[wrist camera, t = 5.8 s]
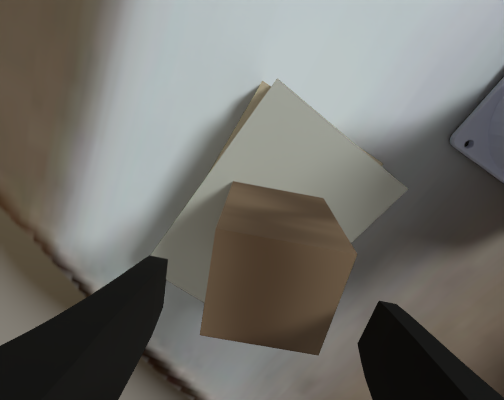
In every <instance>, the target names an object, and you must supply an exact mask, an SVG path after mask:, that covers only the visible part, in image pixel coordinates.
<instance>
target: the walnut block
mask: <svg viewBox="0 0 504 400" xmlns="http://www.w3.org/2000/svg"><path fill="white" fill-rule="evenodd" d="M356 257H357V253H356V251H355V249H354V248H353V246H352V244H351V243H350V241H349V240H348V238H347V236H346V235H345V233H344V231H343V230H342V228H341V226H340V225H339V223H338V221H337V220H336V218H335V216H334V215H333V213H332V211H331V210H330V208H329V206H328V205H327V203H326V201H325V200H324V198H320V197H315V196H309V195H304V194H299V193H293V192H288V191H283V190H277V189H272V188H267V187H262V186H256V185H251V184H246V183H240V182H235V181H233V183H232V185H231V188H230V191H229V193H228V196H227V199H226V202H225V204H224V207H223V210H222V212H221V215H220V218H219V221H218V223H217V226H216V229H215V236H214V243H213V249H212V256H211V263H210V270H209V276H208V283H207V290H206V297H205V303H204V310H203V317H202V323H201V330H200V335H202V336H208V337H214V338H219V339H225V340H231V341H237V342H243V343H249V344H255V345H261V346H266V347H272V348H278V349H284V350H290V351H296V352H302V353H307V354H313V355H319V353H320V350H321V348H322V345H323V342H324V340H325V337H326V335H327V332H328V329H329V327H330V324H331V322H332V319H333V316H334V314H335V311H336V309H337V306H338V303H339V301H340V298H341V296H342V293H343V290H344V288H345V285H346V283H347V280H348V277H349V275H350V272H351V270H352V267H353V264H354V262H355V259H356Z"/></svg>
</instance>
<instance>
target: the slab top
mask: <svg viewBox="0 0 504 400" xmlns="http://www.w3.org/2000/svg"><path fill="white" fill-rule="evenodd" d="M233 181H235V182H240V183H246V184H251V185H256V186H262V187H267V188H272V189H277V190H283V191H288V192H293V193H299V194H304V195H309V196H315V197H320V198H324V200H325V201H326V203H327V205H328V206H329V208H330V210H331V211H332V213H333V215H334V216H335V218H336V220H337V221H338V223H339V225H340V226H341V228H342V230H343V231H344V233H345V235H346V236H347V238H348V240H349V241H350V243H352V242H353V241H354V240H355V239H356V238H357V237H358V236H359V235H360V234H362V233H363V232H364V231H365V230H366V229H367V228H368V227H369V226H370V225H371V224H372V223H373V222H374V221H375V220H376V219H377V218H378V217H379V216H380V215H382V214H383V213H384V212H385V211H386V210H387V209H388V208H389V207H390V206H391V205H392V204H393V203H394V202H395V201H396V200H397V199H398V198H399V197H401V196H402V195H403V194H404V193H405V192H406V191H407V190H408V188H406V187H405V186H404V185H403V184H402V183H401V182H399V181H398V180H397V179H396V178H395V177H393V176H392V175H391V174H390V173H389V172H388V171H386V170H385V169H384V168H383V167H382V166H380V165H379V164H378V163H377V162H376V161H375V160H373V159H372V158H371V157H370V156H369V155H367V154H366V153H365V152H364V151H363V150H361V149H360V148H359V147H358V146H357V145H356V144H354V143H353V142H352V141H351V140H350V139H348V138H347V137H346V136H345V135H344V134H343V133H341V132H340V131H339V130H338V129H337V128H335V127H334V126H333V125H332V124H331V123H330V122H328V121H327V120H326V119H325V118H324V117H322V116H321V115H320V114H319V113H318V112H317V111H315V110H314V109H313V108H312V107H311V106H309V105H308V104H307V103H306V102H305V101H304V100H302V99H301V98H300V97H299V96H298V95H296V94H295V93H294V92H293V91H292V90H290V89H289V88H288V87H287V86H286V85H285V84H283V83H282V82H281V81H280V80H279V79H276V81H275V82H274V84H273V85H272V86H271V88H270V89H269V91H268V92H267V93H266V95H265V96H264V98H263V99H262V100H261V102H260V103H259V105H258V106H257V107H256V109H255V110H254V111H253V113H252V114H251V116H250V117H249V118H248V120H247V121H246V123H245V124H244V125H243V127H242V128H241V130H240V131H239V132H238V134H237V135H236V137H235V138H234V139H233V141H232V142H231V144H230V145H229V146H228V148H227V149H226V150H225V152H224V153H223V155H222V156H221V157H220V159H219V160H218V162H217V163H216V164H215V166H214V167H213V169H212V170H211V171H210V173H209V174H208V176H207V177H206V178H205V180H204V181H203V183H202V184H201V185H200V187H199V188H198V189H197V191H196V192H195V194H194V195H193V196H192V198H191V199H190V201H189V202H188V203H187V205H186V206H185V208H184V209H183V210H182V212H181V213H180V215H179V216H178V217H177V219H176V220H175V222H174V223H173V224H172V226H171V227H170V229H169V230H168V231H167V233H166V234H165V235H164V237H163V238H162V240H161V241H160V242H159V244H158V245H157V247H156V248H155V249H154V251H153V252H152V254H151V255H150V256H155V257H160V258H165V259H168V265H167V275H166V280H167V281H169V282H170V283H172V284H174V285H175V286H177V287H179V288H180V289H182V290H184V291H185V292H187V293H189V294H190V295H192V296H194V297H195V298H197V299H199V300H200V301H202V302H204V303H205V297H206V290H207V283H208V276H209V270H210V263H211V256H212V249H213V243H214V236H215V229H216V226H217V223H218V221H219V218H220V215H221V212H222V210H223V207H224V204H225V202H226V199H227V196H228V193H229V191H230V188H231V185H232V183H233Z"/></svg>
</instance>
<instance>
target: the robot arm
mask: <svg viewBox="0 0 504 400" xmlns="http://www.w3.org/2000/svg"><path fill="white" fill-rule="evenodd" d="M468 140H469V144H468V146H466V147H464V144H465V142H466V141H468ZM450 144H451V145H452V146H453V147H454V148H456V149H457V150H458V151H460V152H461V153H463V154H464V155H465V156H467V157H468V158H469V159H471V160H472V161H474V162H475V163H476V164H478V165H479V166H480V167H482V168H483V169H485V170H486V171H487V172H489V173H490V174H491V175H493V176H494V177H496V178H497V179H498V180H500V181H501V182H502V183H504V77H503V78H502V79H501V80H500V82H499V83H498V84H497V85H496V86H495V87H494V88H493V89H492V91H491V92H490V93H489V94H488V95H487V96H486V97H485V98H484V100H483V101H482V102H481V103H480V104H479V105H478V106H477V107H476V109H475V110H474V111H473V112H472V113H471V114H470V115H469V116H468V117H467V119H466V120H465V121H464V122H463V123H462V124H461V125H460V126H459V128H458V129H457V130H456V131H455V132H454V133H453V134H452V136H451V138H450ZM167 265H168V259H165V258H160V257H155V256H148V257H146V258H145V259H143V260H142V261H140V262H139V263H138V264H136V265H135V266H133V267H132V268H130V269H129V270H128V271H126V272H125V273H123V274H122V275H120V276H119V277H117V278H116V279H114V280H113V281H111V282H110V283H108V284H107V285H105V286H104V287H102V288H101V289H99V290H98V291H96V292H95V293H93V294H92V295H90V296H88V297H87V298H85V299H84V300H82V301H80V302H79V303H77V304H75V305H74V306H72V307H70V308H69V309H67V310H65V311H64V312H62V313H60V314H59V315H57V316H55V317H54V318H52V319H50V320H49V321H46V322H45V323H43V324H41V325H39V326H38V327H36V328H34V329H32V330H30V331H28V332H26V333H24V334H22V335H21V336H18V337H17V338H15V339H13V340H11V341H9V342H7V343H5V344H3V345H1V346H0V400H118V399H119V397H120V395H121V393H122V391H123V390H124V388H125V386H126V384H127V382H128V380H129V378H130V376H131V375H132V372H133V371H134V369H135V367H136V365H137V363H138V361H139V359H140V357H141V356H142V354H143V352H144V350H145V348H146V346H147V344H148V342H149V340H150V338H151V336H152V334H153V331H154V329H155V326H156V324H157V321H158V319H159V316H160V313H161V311H162V308H163V303H164V294H165V284H166V275H167ZM358 348H359V353H360V358H361V363H362V367H363V371H364V375H365V379H366V382H367V385H368V388H369V391H370V393H371V396H372V399H373V400H504V398H503V397H502V396H501V395H500V394H499V393H497V392H496V391H495V390H494V389H493V388H492V387H490V386H489V385H488V384H487V383H486V382H484V381H483V380H482V379H481V378H480V377H479V376H477V375H476V374H475V373H474V372H473V371H472V370H471V369H469V368H468V367H467V366H466V365H465V364H464V363H463V362H462V361H460V360H459V359H458V358H457V357H456V356H455V355H454V354H453V353H451V352H450V351H449V350H448V349H447V348H446V347H445V346H444V345H443V344H441V343H440V342H439V341H438V340H437V339H436V338H435V337H434V336H433V335H431V334H430V333H429V332H428V331H427V330H426V329H425V328H424V327H423V326H422V325H420V324H419V323H418V322H417V321H416V320H415V319H414V318H412V317H411V316H410V315H409V314H408V313H407V312H405V311H404V310H403V309H402V308H400V307H399V306H398V305H397V304H393V303H388V302H383V301H379V302H378V304H377V306H376V308H375V310H374V312H373V314H372V316H371V318H370V320H369V322H368V324H367V326H366V328H365V330H364V332H363V334H362V336H361V338H360V340H359V342H358Z"/></svg>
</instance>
